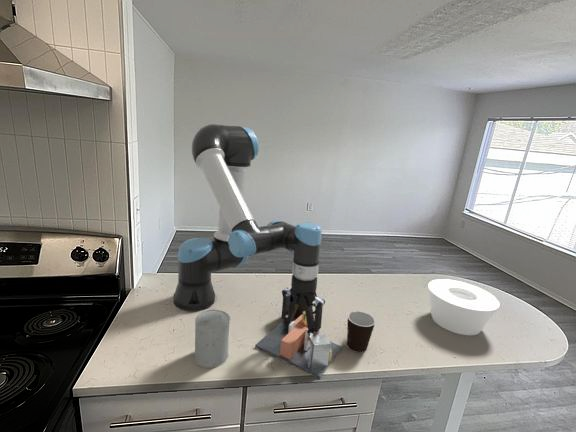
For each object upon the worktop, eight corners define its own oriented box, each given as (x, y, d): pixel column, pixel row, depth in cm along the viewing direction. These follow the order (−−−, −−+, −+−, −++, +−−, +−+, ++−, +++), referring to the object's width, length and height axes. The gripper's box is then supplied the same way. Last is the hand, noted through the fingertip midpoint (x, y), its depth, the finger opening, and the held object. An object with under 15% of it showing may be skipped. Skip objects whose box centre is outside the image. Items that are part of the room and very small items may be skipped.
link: (295, 362, 94) (296, 347, 93) (274, 352, 98) (276, 337, 96) (318, 335, 108) (320, 321, 107) (300, 327, 111) (301, 314, 110)
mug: (318, 328, 113) (321, 305, 111) (284, 327, 111) (286, 304, 109) (313, 313, 122) (316, 291, 120) (281, 312, 121) (284, 290, 118)
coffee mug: (365, 358, 100) (370, 330, 97) (339, 347, 104) (343, 319, 101) (376, 340, 109) (381, 313, 107) (352, 330, 114) (356, 304, 111)
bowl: (487, 316, 131) (494, 289, 128) (495, 350, 110) (505, 318, 107) (423, 299, 141) (429, 274, 138) (420, 327, 119) (427, 297, 116)
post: (298, 336, 106) (301, 313, 104) (302, 332, 109) (305, 309, 107) (306, 339, 105) (309, 316, 103) (310, 335, 107) (312, 312, 105)
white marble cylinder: (197, 345, 99) (198, 309, 96) (229, 345, 100) (231, 310, 97) (191, 367, 90) (192, 328, 87) (226, 368, 91) (228, 329, 88)
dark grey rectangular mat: (255, 347, 100) (255, 344, 100) (282, 323, 114) (282, 321, 114) (319, 378, 90) (320, 376, 90) (341, 348, 103) (341, 346, 103)
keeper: (305, 354, 98) (308, 333, 96) (325, 352, 99) (328, 331, 98) (311, 367, 93) (314, 345, 91) (332, 365, 94) (335, 343, 92)
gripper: (272, 271, 97) (267, 340, 103) (327, 289, 89) (320, 362, 94) (284, 264, 104) (280, 329, 109) (338, 279, 95) (330, 349, 100)
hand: (298, 344), depth 102 cm, fingers open, 5 cm apart
